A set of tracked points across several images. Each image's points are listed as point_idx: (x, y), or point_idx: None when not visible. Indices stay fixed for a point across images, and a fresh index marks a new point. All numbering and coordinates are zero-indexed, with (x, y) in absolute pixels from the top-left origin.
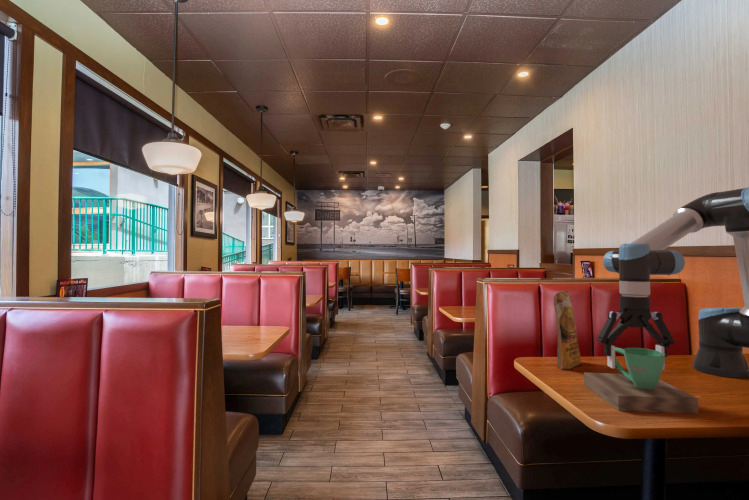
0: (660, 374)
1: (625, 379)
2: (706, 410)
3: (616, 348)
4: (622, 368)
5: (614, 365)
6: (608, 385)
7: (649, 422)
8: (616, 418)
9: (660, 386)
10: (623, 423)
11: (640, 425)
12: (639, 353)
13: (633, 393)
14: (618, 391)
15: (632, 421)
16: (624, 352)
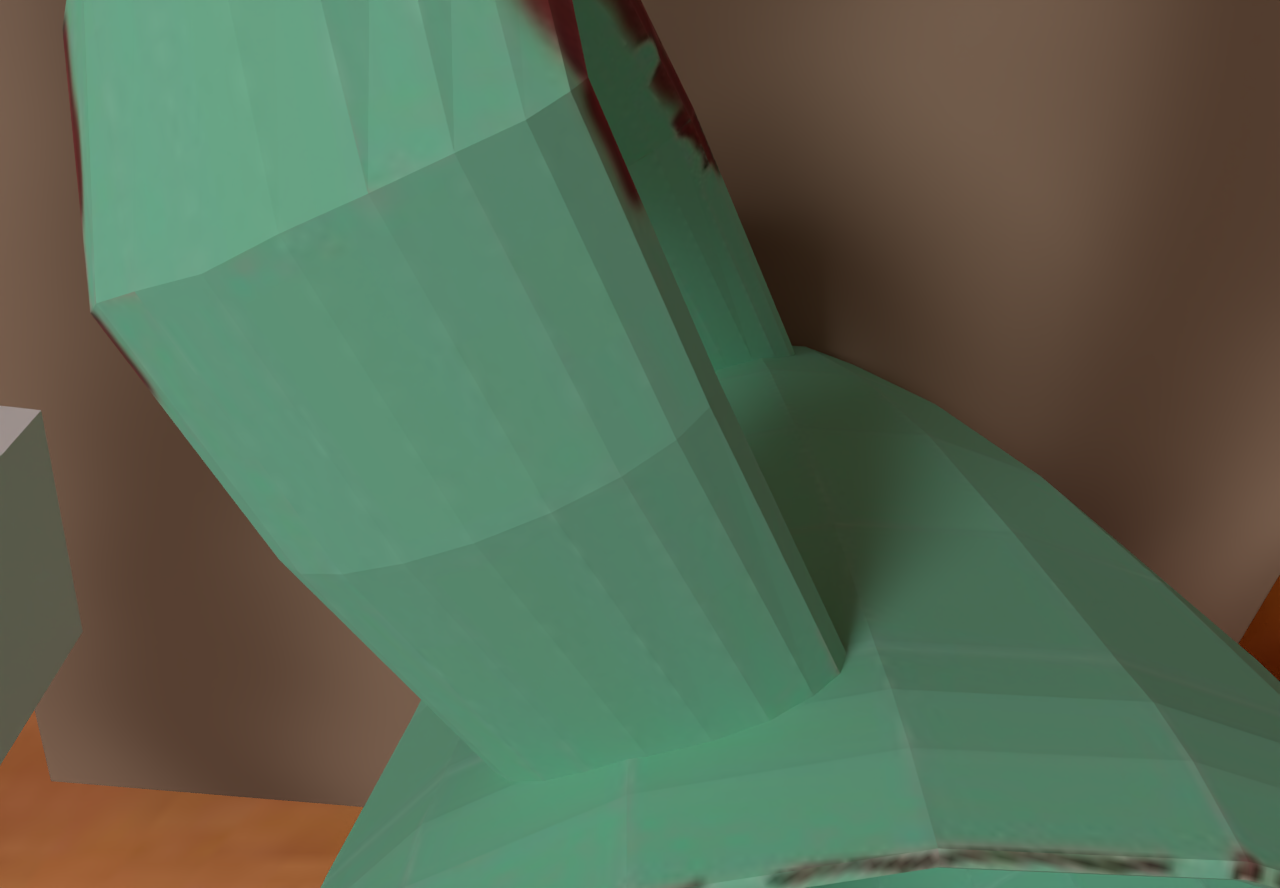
0: (945, 879)
1: (703, 54)
2: (1249, 647)
3: (270, 474)
4: (631, 133)
5: (32, 691)
6: (76, 413)
7: (323, 843)
8: (21, 776)
9: (1077, 484)
10: (47, 853)
11: (195, 882)
12: (1227, 714)
13: (332, 726)
14: (131, 659)
15: (161, 826)
16: None
